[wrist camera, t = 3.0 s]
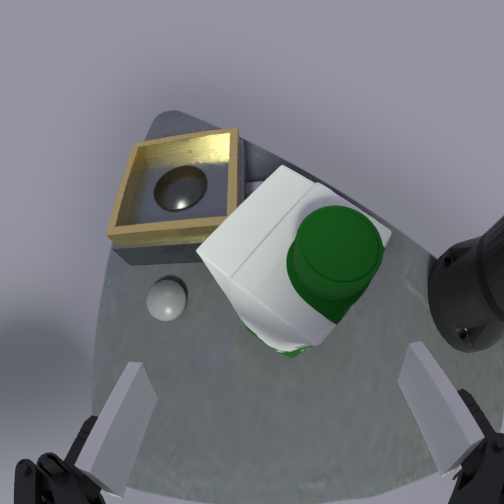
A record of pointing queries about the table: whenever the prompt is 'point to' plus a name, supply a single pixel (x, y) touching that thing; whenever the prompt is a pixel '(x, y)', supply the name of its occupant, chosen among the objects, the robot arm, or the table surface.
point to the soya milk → (294, 260)
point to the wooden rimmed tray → (178, 195)
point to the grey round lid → (166, 300)
